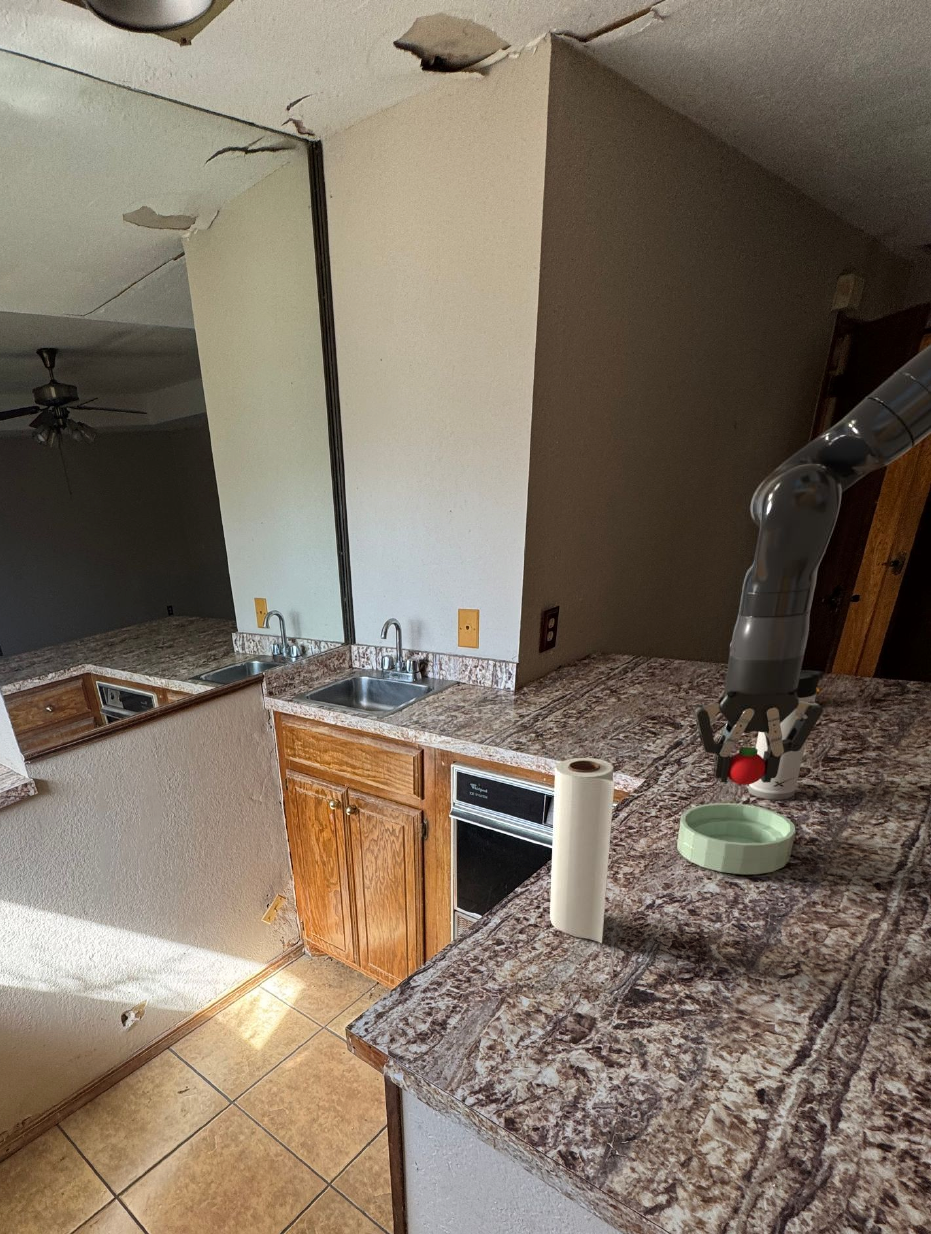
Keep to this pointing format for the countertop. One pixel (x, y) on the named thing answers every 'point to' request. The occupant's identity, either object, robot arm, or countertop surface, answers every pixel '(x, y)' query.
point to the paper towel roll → (581, 846)
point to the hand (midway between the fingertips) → (743, 779)
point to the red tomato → (746, 766)
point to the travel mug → (791, 760)
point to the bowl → (736, 838)
